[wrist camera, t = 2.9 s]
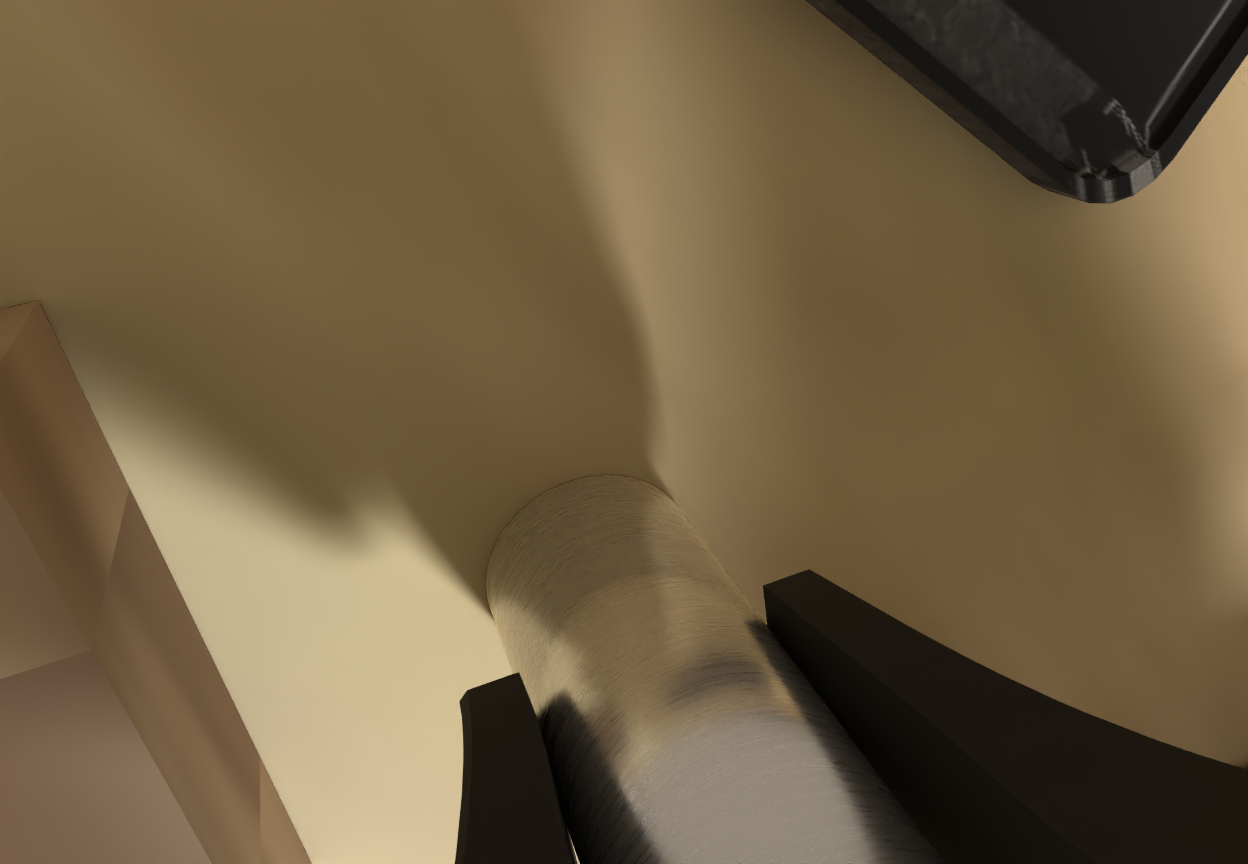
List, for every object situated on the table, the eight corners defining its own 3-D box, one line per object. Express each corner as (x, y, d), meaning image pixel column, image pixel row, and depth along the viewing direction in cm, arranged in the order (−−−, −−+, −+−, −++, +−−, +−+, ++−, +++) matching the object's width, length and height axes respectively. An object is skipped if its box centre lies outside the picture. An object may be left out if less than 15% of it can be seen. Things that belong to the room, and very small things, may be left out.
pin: (676, 447, 13) (1015, 853, 7) (701, 616, 15) (1002, 1068, 9) (463, 515, 13) (645, 1018, 7) (511, 683, 14) (696, 1220, 8)
